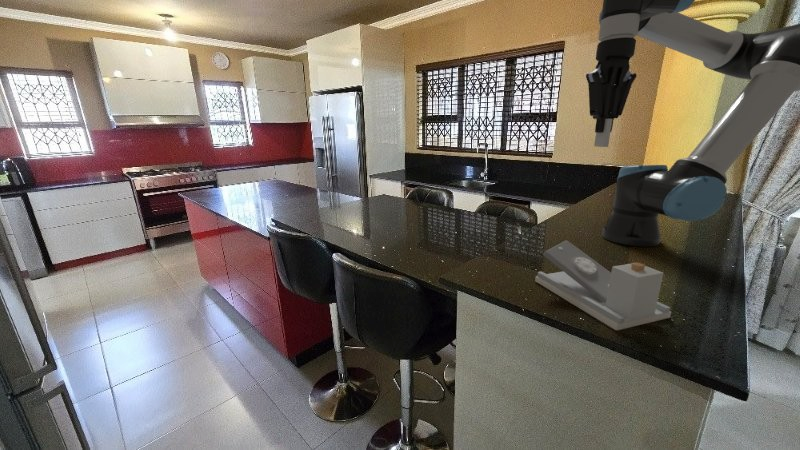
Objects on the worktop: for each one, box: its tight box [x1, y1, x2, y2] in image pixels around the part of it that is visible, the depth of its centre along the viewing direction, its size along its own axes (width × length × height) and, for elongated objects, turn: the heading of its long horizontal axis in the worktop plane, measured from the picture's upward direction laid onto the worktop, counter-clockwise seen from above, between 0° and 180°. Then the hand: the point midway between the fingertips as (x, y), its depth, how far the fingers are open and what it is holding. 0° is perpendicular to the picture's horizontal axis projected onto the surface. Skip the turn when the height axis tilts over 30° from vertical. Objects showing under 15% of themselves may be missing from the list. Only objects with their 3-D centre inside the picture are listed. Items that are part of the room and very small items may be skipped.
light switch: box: [542, 239, 612, 302], centre depth 72 cm, size 8×6×14 cm
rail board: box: [534, 262, 672, 331], centre depth 69 cm, size 13×21×10 cm, turn 18°
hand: (601, 146), depth 83 cm, fingers closed
